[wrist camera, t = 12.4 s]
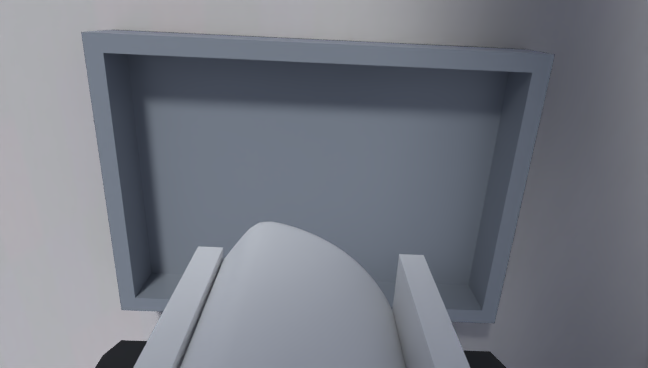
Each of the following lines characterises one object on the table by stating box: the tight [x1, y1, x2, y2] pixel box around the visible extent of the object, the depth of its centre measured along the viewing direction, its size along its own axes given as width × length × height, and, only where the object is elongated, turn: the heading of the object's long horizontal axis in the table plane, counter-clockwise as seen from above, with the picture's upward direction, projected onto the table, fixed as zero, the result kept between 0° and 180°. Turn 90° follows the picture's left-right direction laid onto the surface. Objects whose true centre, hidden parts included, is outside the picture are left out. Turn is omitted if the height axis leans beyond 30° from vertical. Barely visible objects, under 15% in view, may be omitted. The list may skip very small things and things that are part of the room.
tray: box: [81, 30, 555, 323], centre depth 22 cm, size 14×20×3 cm
